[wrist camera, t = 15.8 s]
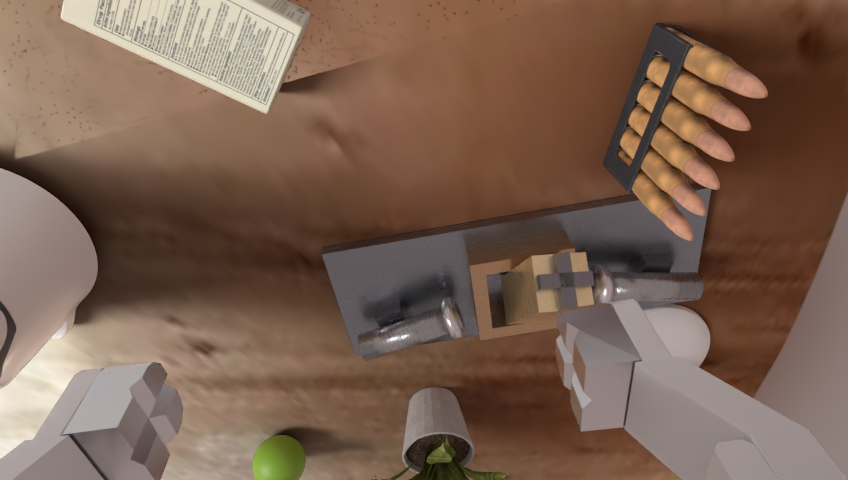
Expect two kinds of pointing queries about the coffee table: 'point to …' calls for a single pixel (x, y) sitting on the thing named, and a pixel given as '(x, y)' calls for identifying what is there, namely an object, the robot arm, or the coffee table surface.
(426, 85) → the coffee table surface
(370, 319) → the coupler station
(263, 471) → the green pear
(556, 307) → the pale yellow block
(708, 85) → the ammunition clip
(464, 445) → the house plant
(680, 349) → the candlestick
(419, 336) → the shaft left
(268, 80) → the skincare box
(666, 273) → the shaft right
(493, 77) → the coffee table surface
